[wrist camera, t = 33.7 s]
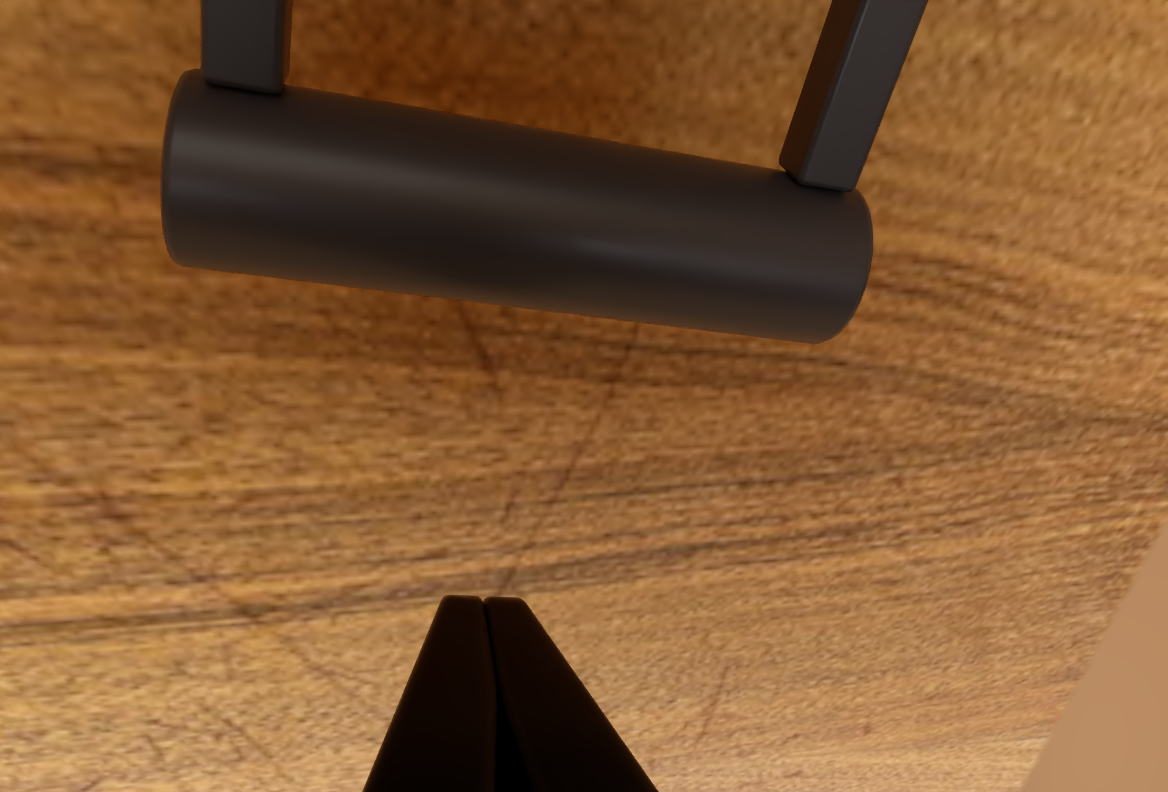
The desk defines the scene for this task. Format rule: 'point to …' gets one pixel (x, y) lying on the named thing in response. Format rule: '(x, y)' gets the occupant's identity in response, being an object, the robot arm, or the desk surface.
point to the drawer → (528, 191)
